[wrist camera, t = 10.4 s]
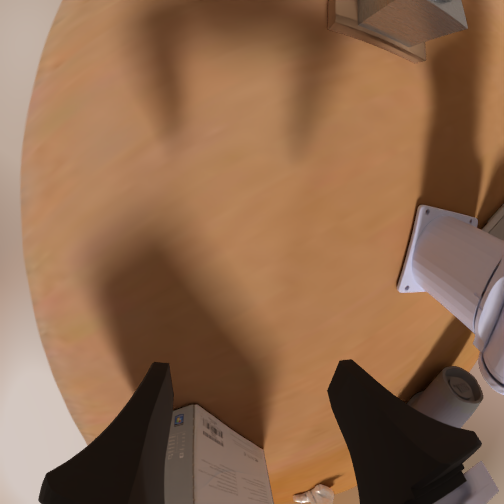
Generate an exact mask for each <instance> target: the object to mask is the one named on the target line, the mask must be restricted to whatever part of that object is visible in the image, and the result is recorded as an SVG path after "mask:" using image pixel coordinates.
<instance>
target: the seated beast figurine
mask: <svg viewBox="0 0 504 504" xmlns="http://www.w3.org/2000/svg"><path fill="white" fill-rule="evenodd" d="M333 498H334V493H333V491H332V490H331V489H330V488H329V487H327V486H325V485H322V484H319V485H316V486H315V488H314V489H311V491H308V492H305V493H303V494H298V495H294V496H293V500H294V502H300V503H303V502H307V501H308V502H311V504H333Z"/></svg>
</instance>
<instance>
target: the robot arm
mask: <svg viewBox="0 0 504 504" xmlns="http://www.w3.org/2000/svg"><path fill="white" fill-rule="evenodd" d="M426 210H427V213H426ZM477 225H478V219H477V218H475V217H471V216H468V215H464V214H460V213H456V212H452V211H448V210H444V209H440V208H436V207H431V206H427V205H420V206H419V207H418V209H417V214H416V219H415V223H414V228H413V232H412V236H411V240H410V244H409V248H408V252H407V255H406V259H405V262H404V266H403V269H402V273H401V276H400V279H399V282H398V285H397V290H398V291H399V292H400V293H406V292H428V293H429V294H430V295H431V296H433V297H434V298H435V299H436V300H437V301H438V302H440V303H441V304H442V305H443V306H444V307H445V308H447V309H448V310H449V311H450V312H451V313H452V314H453V315H454V316H456V317H457V318H458V319H459V320H460V321H461V322H462V323H463V324H464V325H466V326H467V327H468V328H469V329H470V330H471V331H472V332H473V333H474V334H475V339H474V342H473V344H474V345H475V346H476V347H477V348H478V349H479V350H480V353H479V358H478V364H479V369H480V371H481V374H482V376H483V378H484V379H485V381H486V382H487V383H488V384H489V386H490V387H491V388H492V389H494V390H495V391H496V392H498V393H500V394H502V395H504V241H503V240H501V239H499V238H497V237H495V236H493V235H491V234H489V233H487V232H485V231H483V230H481V229H478V228H477ZM406 286H407V287H406ZM405 287H406V288H405ZM327 391H328V395H329V399H330V403H331V407H332V410H333V413H334V415H335V418H336V420H337V423H338V425H339V427H340V430H341V432H342V434H343V437H344V439H345V442H346V444H347V446H348V449H349V452H350V455H351V459H352V463H353V467H354V471H355V476H356V480H357V486H358V491H359V498H360V504H486V503H487V502H488V501H489V500H490V499H491V498H493V496H494V495H495V494H497V493H498V491H499V490H498V488H497V486H496V484H495V483H494V481H493V479H492V477H491V476H490V474H489V473H488V471H487V469H486V467H485V466H484V464H483V462H482V461H480V462H478V463H477V464H476V465H475V466H473V467H472V468H471V469H469V470H468V471H467V472H465V473H464V474H463V473H462V470H463V469H464V466H463V464H462V463H463V462H464V461H466V460H467V459H468V458H469V457H470V456H471V455H472V454H474V453H475V452H476V451H477V449H479V448H480V446H481V444H482V443H481V441H480V440H479V438H478V437H477V435H476V433H475V432H474V431H469V430H465V429H461V428H457V427H454V426H451V425H448V424H445V423H442V422H440V421H437V420H435V419H433V418H431V417H429V416H426V415H425V414H423V413H421V412H419V411H417V410H416V409H414V408H412V407H411V406H409V405H407V404H406V403H404V402H403V401H402V400H400V399H399V398H397V397H396V396H395V395H393V394H392V393H391V392H389V391H388V390H387V389H386V388H384V387H383V386H382V385H381V384H380V383H378V382H377V381H376V380H375V379H374V378H373V377H371V376H370V375H369V374H368V373H367V372H366V371H365V370H363V369H362V368H361V367H360V366H359V365H358V364H356V363H355V362H354V361H353V360H352V359H350V360H342V361H339V363H338V366H337V368H336V371H335V373H334V376H333V378H332V381H331V383H330V385H329V388H328V390H327ZM173 397H174V393H173V387H172V381H171V374H170V366H169V363H159V362H154V363H153V364H152V365H151V367H150V369H149V371H148V372H147V374H146V376H145V377H144V379H143V381H142V382H141V384H140V385H139V387H138V389H137V390H136V391H135V393H134V394H133V396H132V397H131V399H130V400H129V402H128V403H127V404H126V405H125V407H124V408H123V409H122V411H121V412H120V413H119V414H118V416H117V417H116V418H115V419H114V420H113V422H112V423H111V424H110V425H109V426H108V427H107V428H106V429H105V430H104V431H103V432H102V433H101V434H100V435H99V436H98V437H97V438H96V439H95V440H94V441H93V442H92V443H90V444H89V445H88V446H87V447H86V448H85V449H83V450H82V451H81V452H79V453H78V454H77V455H75V456H74V457H73V458H71V459H70V460H68V461H67V462H65V463H64V464H62V465H60V466H58V467H57V468H55V469H54V470H52V471H50V472H48V473H47V474H46V476H45V478H44V480H43V483H42V486H41V490H40V495H39V502H40V503H41V504H165V496H164V474H165V458H166V451H167V445H168V439H169V433H170V427H171V421H172V414H173Z"/></svg>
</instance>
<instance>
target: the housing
mask: <svg viewBox="0 0 504 504" xmlns="http://www.w3.org/2000/svg"><path fill="white" fill-rule="evenodd" d="M357 2H358V26H361V27H364V28H366V29H369V30H371V31H374V32H376V33H379V34H381V35H383V36H386V37H388V38H390V39H392V40H394V41H397V42H399V43H401V44H403V45H405V46H407V47H412V46H415V45H418V44H420V43H423V42H426V41H429V40H432V39H435V38H438V37H441V36H444V35H448V34H451V33H455V32H458V31H462V30H466V29H468V27H467V22H466V17H465V13H464V9H463V5H462V1H461V0H357Z"/></svg>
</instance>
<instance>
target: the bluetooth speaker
mask: <svg viewBox="0 0 504 504" xmlns="http://www.w3.org/2000/svg"><path fill="white" fill-rule="evenodd" d="M482 399H483V393H482V390H481V388H480V386H479V384H478V382H477V380H476V379H475V378H474V377H473V376H472V375H471V374H470V373H469V372H467V371H466V370H464V369H462V368H460V367H457V366H450V367H445V368H444V369H443V370H442V371H441V372H440V373H439V374H438V375H437V377H436V378H435V379H434V380H433V381H432V382H431V383H430V385H429V386H428V387H427V388H426V389H425V390H424V391H422V392H418V393H417V394H415V395H414V396H413V397H412V398H411V399H410V400H409V401H408V403H407V405H409V406H411V407H412V408H414V409H416V410H417V411H419V412H421V413H423V414H425V415H426V416H429V417H431V418H433V419H435V420H437V421H440V422H442V423H445V424H448V425H451V426H454V427H457V428H461V427H462V426H463V424H464V423H465V422H466V421H467V420H468V419H469V418H470V416H471V415H472V414H473V413H474V411H475V410H476V409H477V407H478V406H479V404H480V403H481V401H482Z"/></svg>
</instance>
